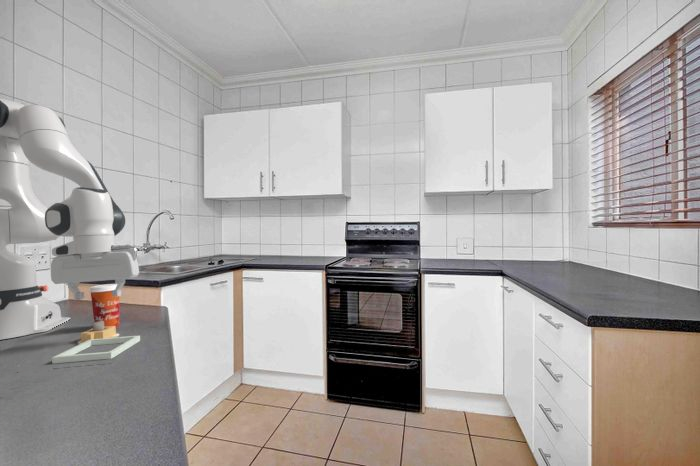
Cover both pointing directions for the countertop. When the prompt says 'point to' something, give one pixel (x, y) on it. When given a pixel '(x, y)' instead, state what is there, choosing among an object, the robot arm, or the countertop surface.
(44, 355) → the countertop surface
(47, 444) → the countertop surface
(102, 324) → the stand
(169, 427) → the countertop surface
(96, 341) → the tray
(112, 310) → the paper cup
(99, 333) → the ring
